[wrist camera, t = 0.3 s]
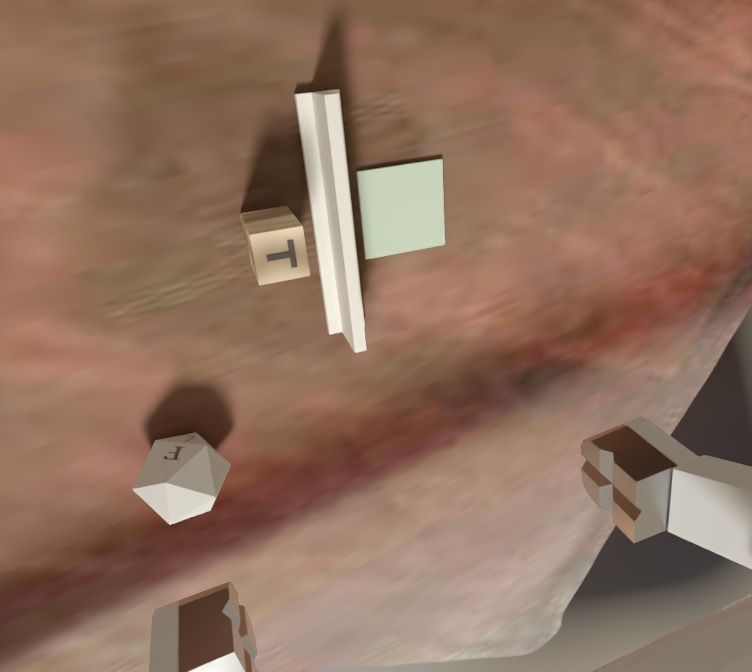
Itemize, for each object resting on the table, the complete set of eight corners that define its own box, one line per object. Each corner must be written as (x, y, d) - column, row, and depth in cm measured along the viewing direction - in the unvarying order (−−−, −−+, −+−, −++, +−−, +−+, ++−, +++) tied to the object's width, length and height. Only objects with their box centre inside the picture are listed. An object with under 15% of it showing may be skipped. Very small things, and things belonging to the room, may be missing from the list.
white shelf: (294, 94, 50) (307, 96, 45) (337, 89, 51) (355, 91, 46) (327, 331, 61) (341, 356, 56) (362, 324, 62) (379, 347, 57)
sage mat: (356, 171, 54) (357, 171, 54) (440, 158, 57) (442, 159, 56) (364, 258, 59) (365, 259, 58) (443, 243, 61) (444, 244, 60)
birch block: (240, 213, 53) (249, 235, 46) (286, 205, 54) (302, 226, 47) (249, 258, 55) (259, 285, 48) (294, 250, 56) (310, 275, 49)
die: (241, 434, 64) (215, 439, 54) (231, 515, 63) (203, 535, 53) (167, 427, 64) (128, 431, 54) (156, 507, 63) (114, 526, 53)
